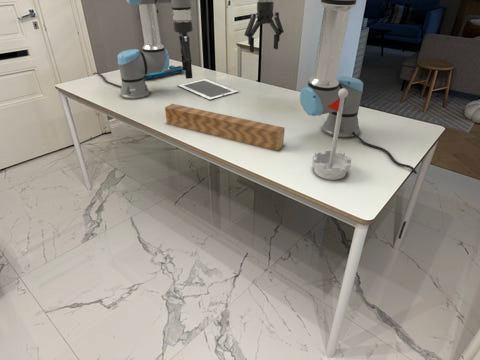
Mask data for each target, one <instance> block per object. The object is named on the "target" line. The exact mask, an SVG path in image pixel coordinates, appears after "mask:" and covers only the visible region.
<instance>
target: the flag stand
mask: <svg viewBox="0 0 480 360" xmlns="http://www.w3.org/2000/svg"><path fill="white" fill-rule="evenodd" d="M338 95H339V97H340V98H339V99H338V100H336V101H335V102H333V103H332V104H330V105H329V106H327V107H329V108H331V109H333V110H336V111H338V112H337V118H336V124H335V130H334V136H332V143H331V148H330V149H329V148H328V149H324V152H321V151H320V150H317V151H315V152H314V154H313V155H314V156H312V166H313V168H314V169H313V170H314V173H315V174H316V175H317V176H318V177H320V178H322V179H325V180H330V181H333V180H340V179H343V178H345V176H346V173H347V172H348V171H350V169H351V166H352V158H351V157H350V156H346V153H345V152H343V151H339V150H338V151H337V145H338V138H339V137H338V134H339V128H340V123H341V117H342V111H343V105H344V99H345V97H346V96H347V95H348V91H347V90H346V89H344V88H342V89H340V90H339V92H338ZM336 151H337V152H336Z"/></svg>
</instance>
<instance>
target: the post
mask: <svg viewBox="0 0 480 360" xmlns="http://www.w3.org/2000/svg"><path fill="white" fill-rule="evenodd" d="M164 111H165V119H166V124H167V125H170V126H176V127H178V128H182V129H188V130H190V131H195V132H199V133H204V134H207V135H211V136H215V137H218V138H219V137H220V138H223V139H227V140H232V141H235V142H240V143H244V144H247V145H252V146H256V147H261V148H265V149H268V150H272V151H276V152H279V151H280V150H281V149H282V148H283V147H284V140H285V126H284V127H283V126H280V125H274V124H270V123H265V122H261V121H257V120H252V119H248V118H247V119H246V118H241V117H237V116H233V115H227V114H224V113H218V112H214V111H209V110H204V109H199V108H194V107H190V106H185V105H181V104H176V103H170V104H168V105H167V106H165V107H164Z"/></svg>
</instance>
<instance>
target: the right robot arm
mask: <svg viewBox="0 0 480 360" xmlns="http://www.w3.org/2000/svg"><path fill="white" fill-rule="evenodd" d="M320 3H321V5H322V6H323V14H322V20H321V26H320V32H319V37H318V44H317V51H316V56H315V58H316V59H315V61H314V62H315V63H314V69H313V75H311V77H309V78H308V82H307V86H304V87H303V88H302V89H301V90H300V94H299V102H300V105H301V107H302V110H303V111H304V112H305V113H306V114H307V115H308V116H310V117H316V116H322V115H325V114H328V115H327V117H326V120H325V118H324V122H323V126H322V130H323V132H324V133H325V134H326V135H329V136H332V137H333V136H334V130H335V124H336V118H337V112H338V111H336V110H333V109H331V108H329V107H327V106H329V105H330V104H332V103H333V102H335V101H336V100H338V99H339V98H340V97H339V95H338V92H339V90H340V89H342V88H344V89H346V90H347V91H348V95H347V96H346V97H345V99H344V105H343V111H342V117H341V123H340V128H339V134H338V138H339V139H341V138H342V139H349V138H354V137H355V138H356V139H357V140H359V141H360V143H362V144H364V145H366V146H368V147H371V148H374V149H377V150H380V151H382V152H384V153H385V154H387V155H388V157H389V158H390V160H391V161H392V162H393V163H395V164H396V165H397V166H400V167H403V168H408V169H410V170H411V171H412V172H413V174H416V175H417V174H418V172H417V170H416V169H415V168H414V166H412V165H410V164H407V163H406V164H405V163H402V162H399V161H397V160H396V159H395V158H394V157H393V155H392V154H391V153H390V151H389V150H387V149H385V148H383V147H381V146H379V145H375V144H372V143H368V142H367V141H365V140H363V139H362V138H361V137H360V136H359V132H360V125H359V118H358V117H359V116H358V114H359V111H360V110H359V109H360V105H361V101H362V96H363V92H364V91H363V89H364V82H363V81H362V80H361V79H359V78H356V77H353V76H346V75H338V69H339V66H340V59H341V55H342V52H343V51H342V50H343V45H344V40H345V35H346V30H347V25H348V21H349V20H348V19H349V14H350V11H351V9H353V8H354V7H355V6H356V4H357V0H320ZM274 5H275V3H274V0H257V2H256V13H251V14H250V19H249V21H248V24H247V27H246V28H245V29H246V30H245V31H244V37H247V40H248V41H247V42H248V45H249V52H250V53H254V52H255V37H254V35H255V34H256V32H257V31H258V29H259V28H260V26H261V25H266V24H269V26H270V27H271V29H272V30H273V32H274V34H273V50H279V42H280V40H281V39H280V36H281V35H282V34H283V33H284V32H285V31H284V28H283V25H282V23H281V19H280V13H279V11H274ZM273 19H274V20H273ZM274 21H275V22H274ZM406 225H407V220H405V221H403V223H402V226H401V228H400V231H399V233H398V238H397V239H402V235H403V233H404V229H405V227H406Z"/></svg>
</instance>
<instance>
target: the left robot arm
mask: <svg viewBox="0 0 480 360" xmlns="http://www.w3.org/2000/svg"><path fill="white" fill-rule="evenodd" d="M126 2H127V4H128V5H130V6H138V9H139V17H140V23H141V30H142V36H143V46H142V48H141V49H142V51H140V50H139V49H137V48H134V49H126V50H123V51H121V52H119V53H118V54H117V65H118V69H119V73H120V79H121V85H119V84H116V83H113V82H110V81H108V80H107V79H106V78H105V77H104V76H103V74H101V73H99V72H93V73H92V75H93V76H94V75H98V76H100V77H101V78H102V79H103V81H105V82H106V83H107V84H110V85H112V86H116V87H117V88H118V87H119V88H120V96H121V98H123V99H126V100H137V99H142V98H143V99H144V98H145V97H148V96H149V95H150V90H149V88H148V86H147V84H146V81H145V80H144V78H143V75H144V74H151V73H158V72H159V73H160V72H163V71H166V70H167V69H169V66H170V55H169V51H168V49H167V48H165V46H164V44H162V42H161V33H160V26H159V17H158V9H157V4H171V10H172V11H171V12H170V15H171V16H172V19H173V31H174V32H175V33H178V34H179V36H178V39H179V47H180V55H181V66H182V67H183V70H184V72H185V73H184V74H185V79H186V80H187V79H193V69H192V55H191V53H192V52H191V44H190V36H189V35H188V33H191V32H193V30H194V29H193V22H192V19H193V15H192V5H191V4H192V3H191V0H126Z"/></svg>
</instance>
